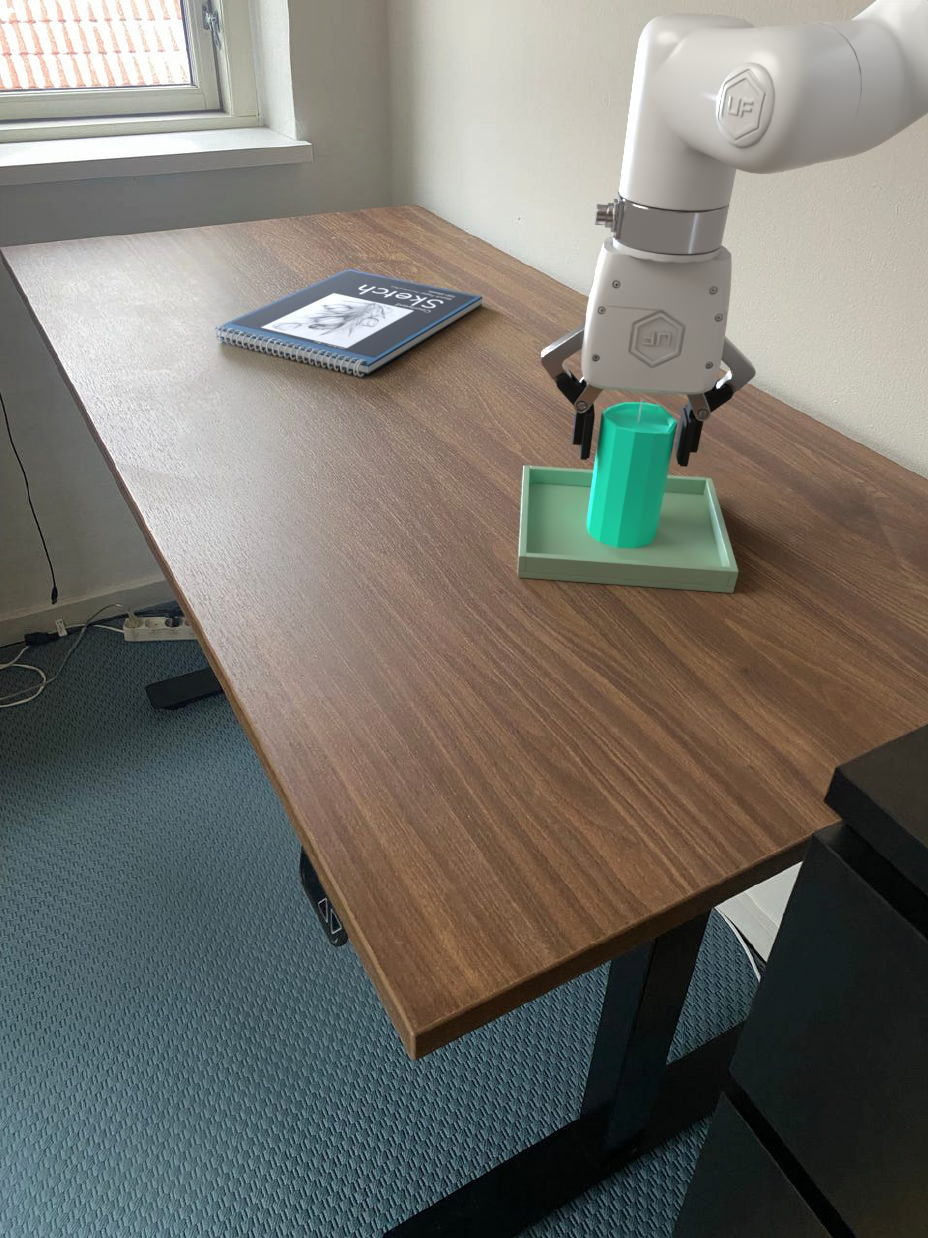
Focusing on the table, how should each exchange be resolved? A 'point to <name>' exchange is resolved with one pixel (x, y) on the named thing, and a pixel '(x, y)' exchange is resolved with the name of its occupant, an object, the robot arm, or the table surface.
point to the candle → (630, 473)
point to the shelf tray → (674, 559)
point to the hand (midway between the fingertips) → (632, 454)
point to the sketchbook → (350, 321)
